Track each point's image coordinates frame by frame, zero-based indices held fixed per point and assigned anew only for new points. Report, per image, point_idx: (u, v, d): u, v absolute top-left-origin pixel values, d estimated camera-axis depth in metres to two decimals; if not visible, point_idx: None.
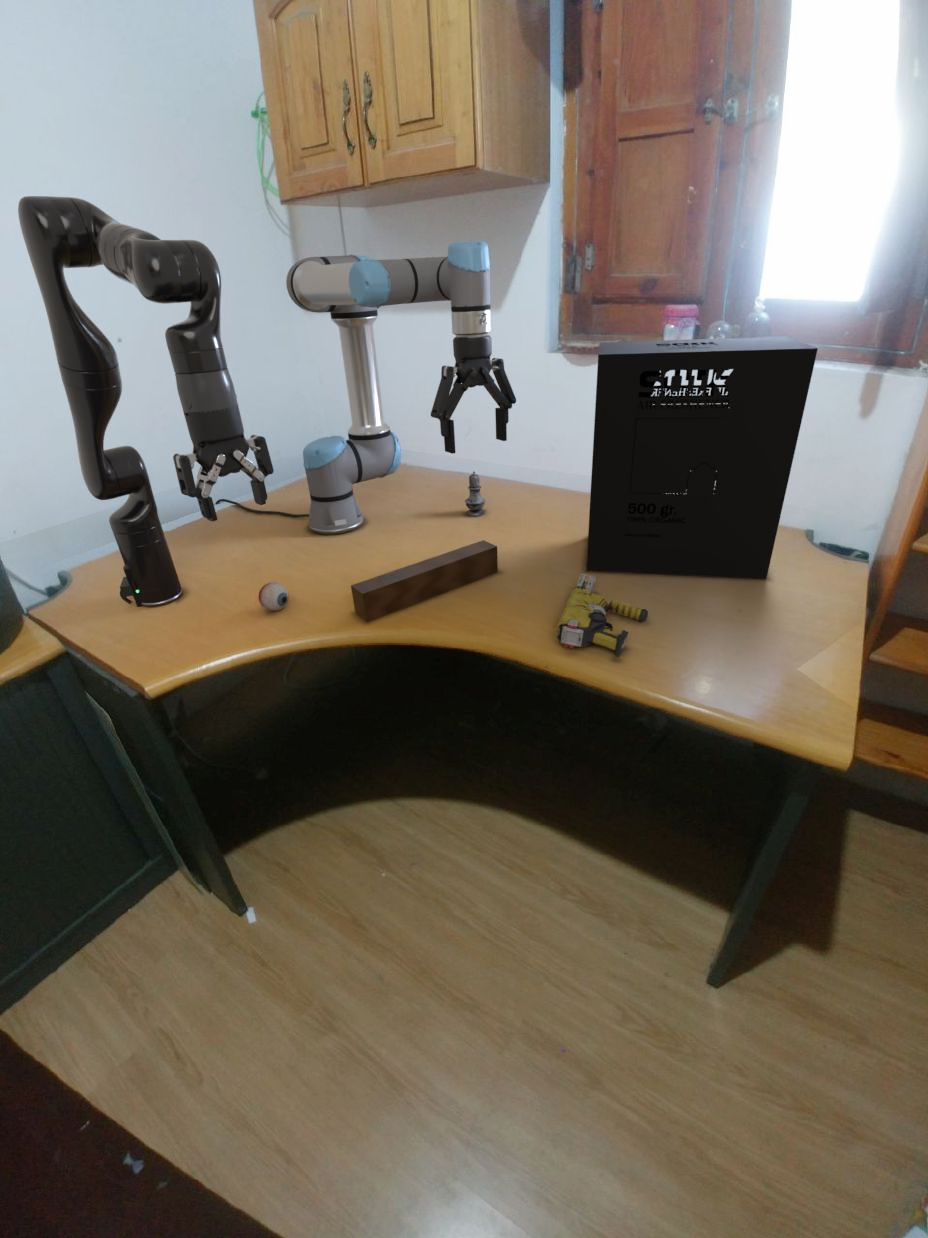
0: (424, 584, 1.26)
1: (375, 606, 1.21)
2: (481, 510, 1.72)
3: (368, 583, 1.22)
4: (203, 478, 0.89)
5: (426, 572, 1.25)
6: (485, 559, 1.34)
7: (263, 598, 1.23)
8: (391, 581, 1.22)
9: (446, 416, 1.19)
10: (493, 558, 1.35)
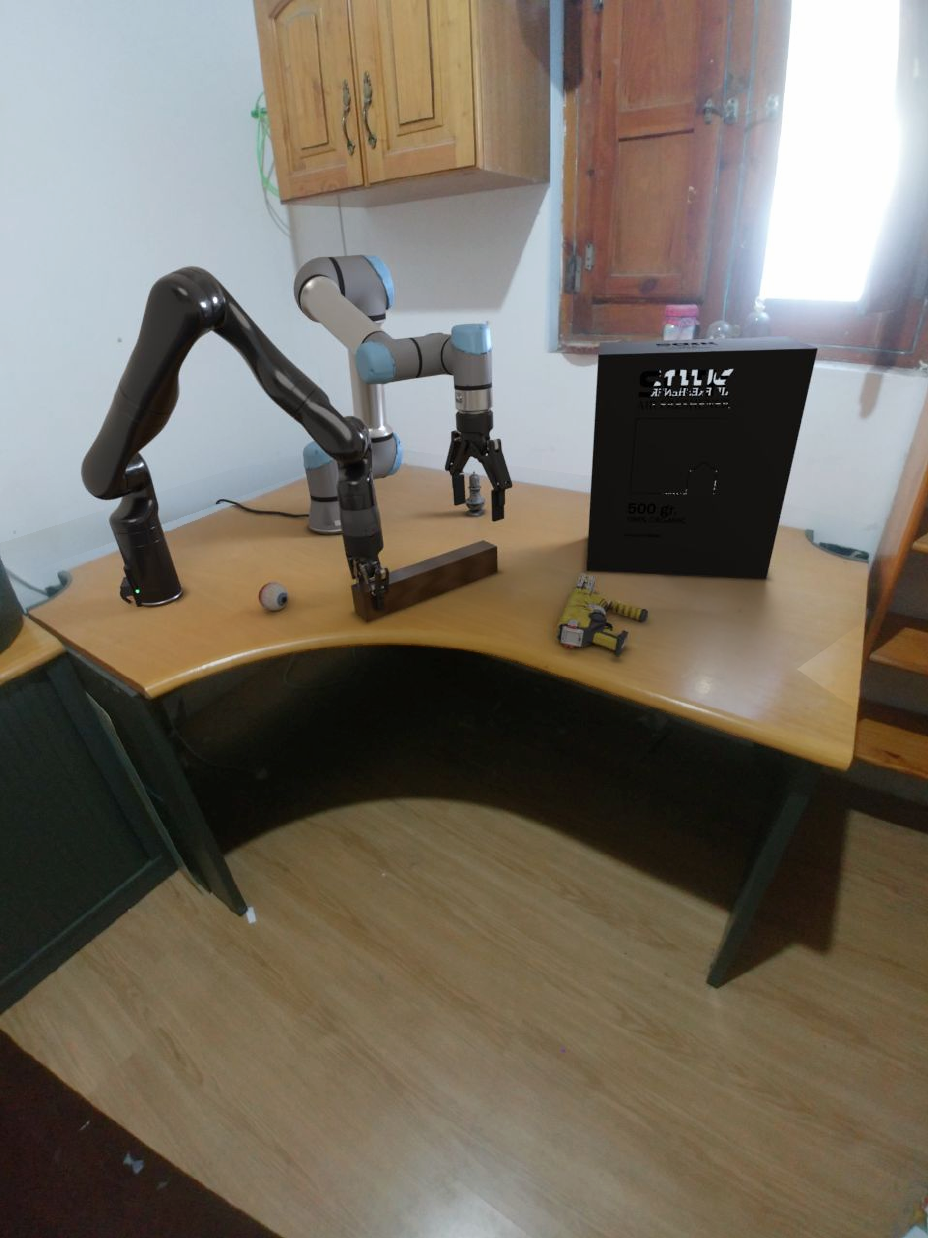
0: (424, 584, 1.26)
1: None
2: (481, 510, 1.72)
3: None
4: None
5: (426, 572, 1.25)
6: (485, 559, 1.34)
7: (263, 598, 1.23)
8: (391, 581, 1.22)
9: (450, 471, 1.32)
10: (493, 558, 1.35)
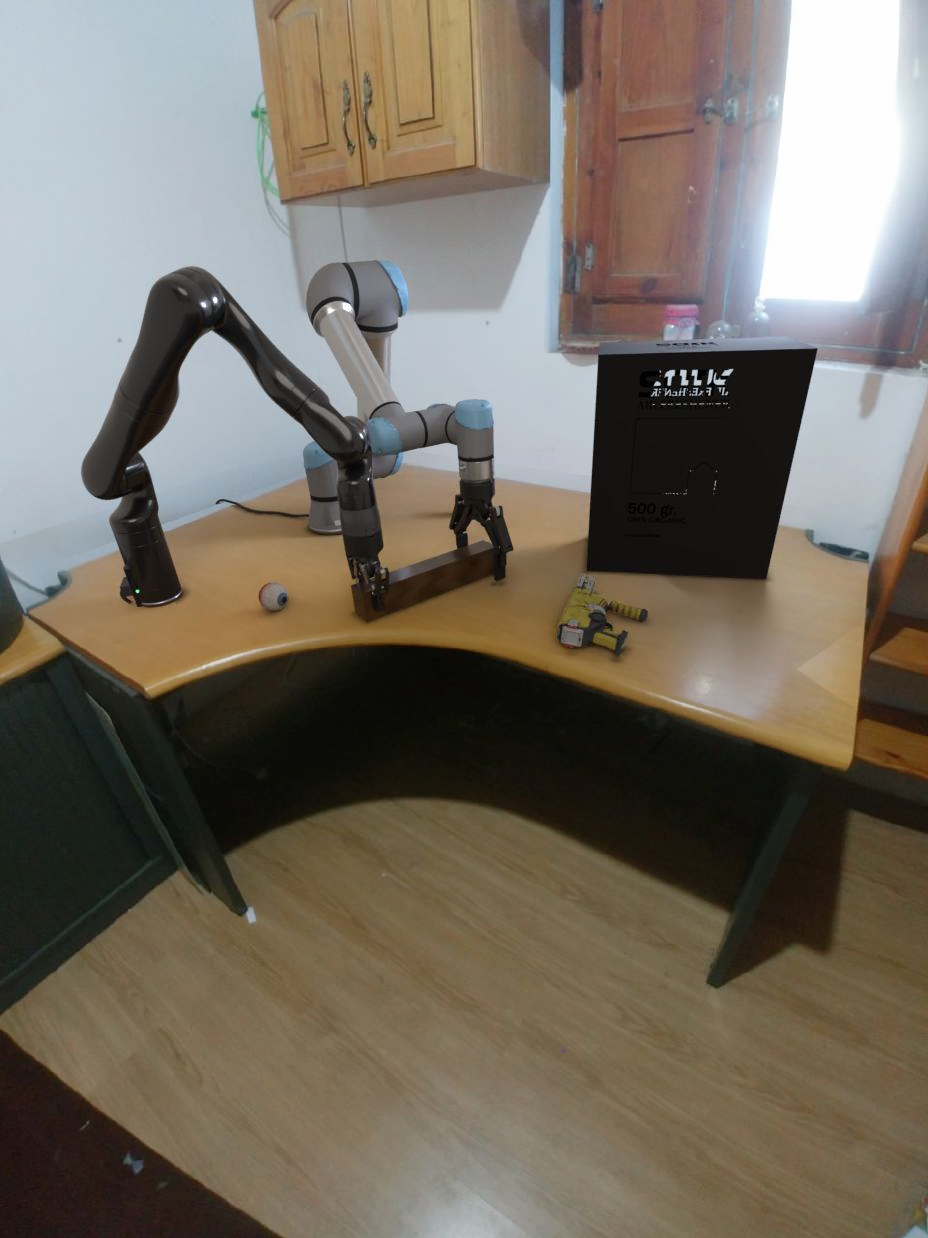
0: (424, 584, 1.26)
1: None
2: None
3: None
4: None
5: (426, 572, 1.25)
6: (485, 559, 1.34)
7: (263, 598, 1.23)
8: (391, 581, 1.22)
9: (454, 530, 1.39)
10: (492, 558, 1.35)
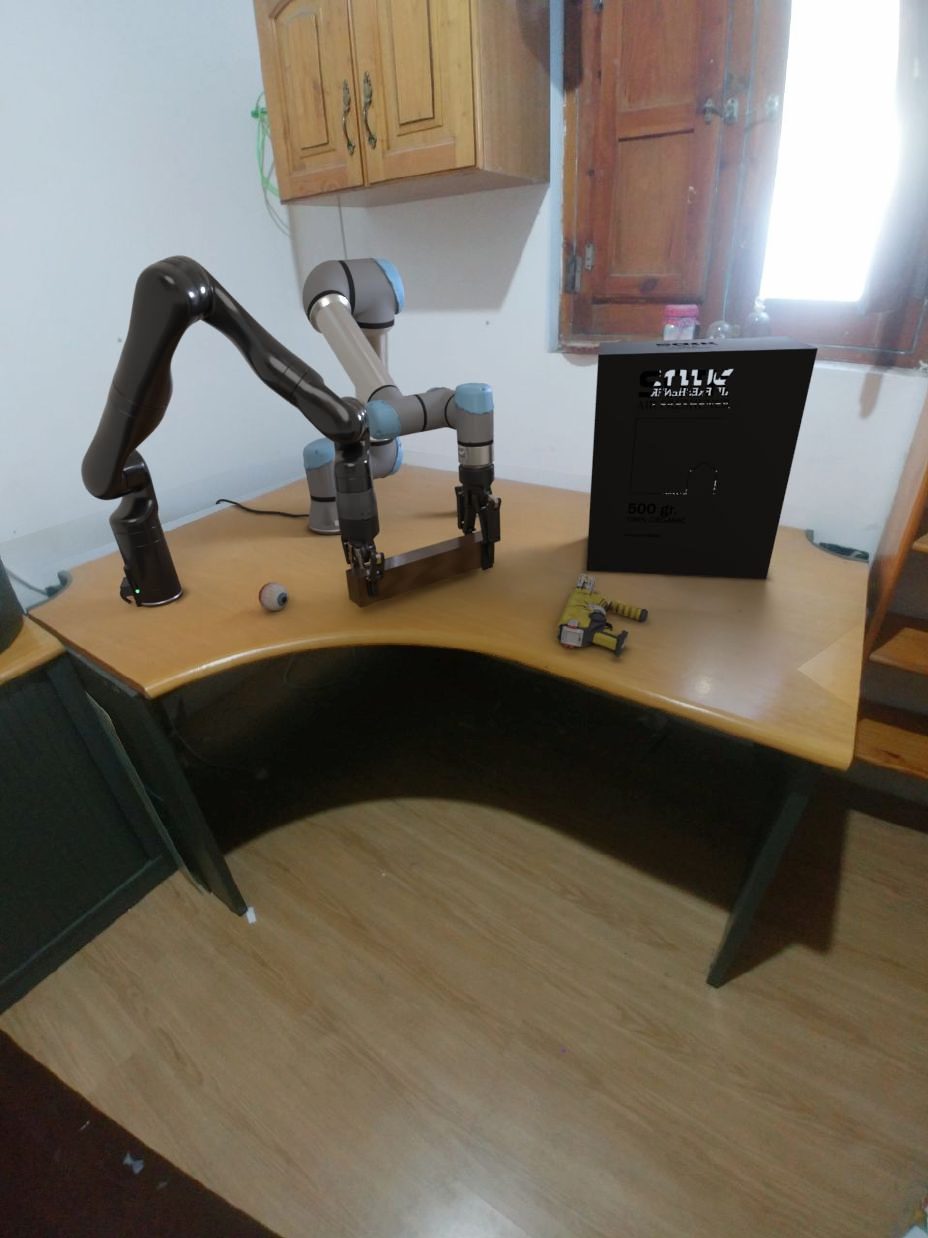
0: (420, 572, 1.25)
1: None
2: None
3: None
4: None
5: (422, 559, 1.24)
6: None
7: (263, 598, 1.23)
8: (386, 567, 1.20)
9: (463, 530, 1.36)
10: None
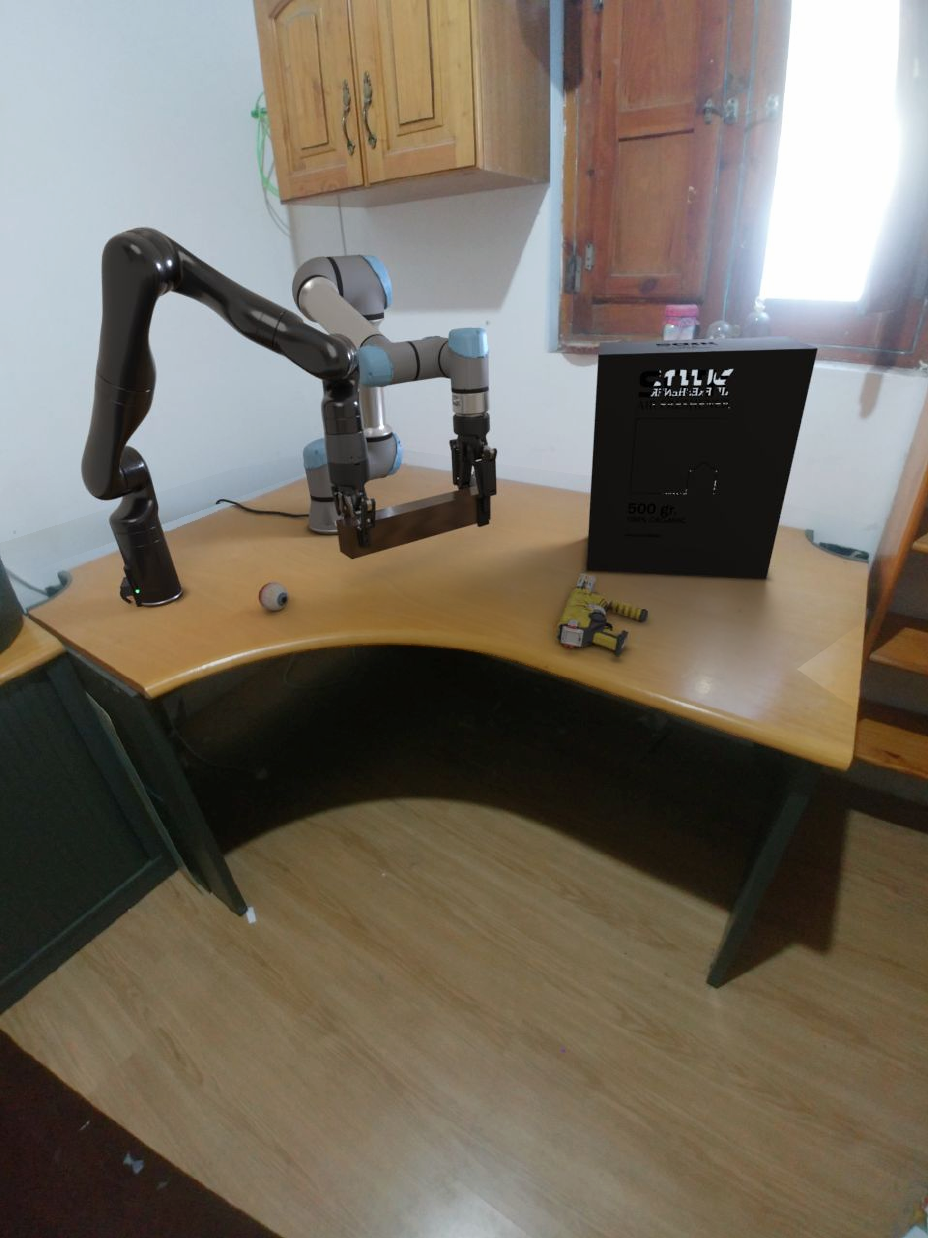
0: (413, 524, 1.21)
1: None
2: None
3: None
4: None
5: (415, 511, 1.20)
6: None
7: (263, 598, 1.23)
8: (378, 518, 1.16)
9: (458, 486, 1.32)
10: None
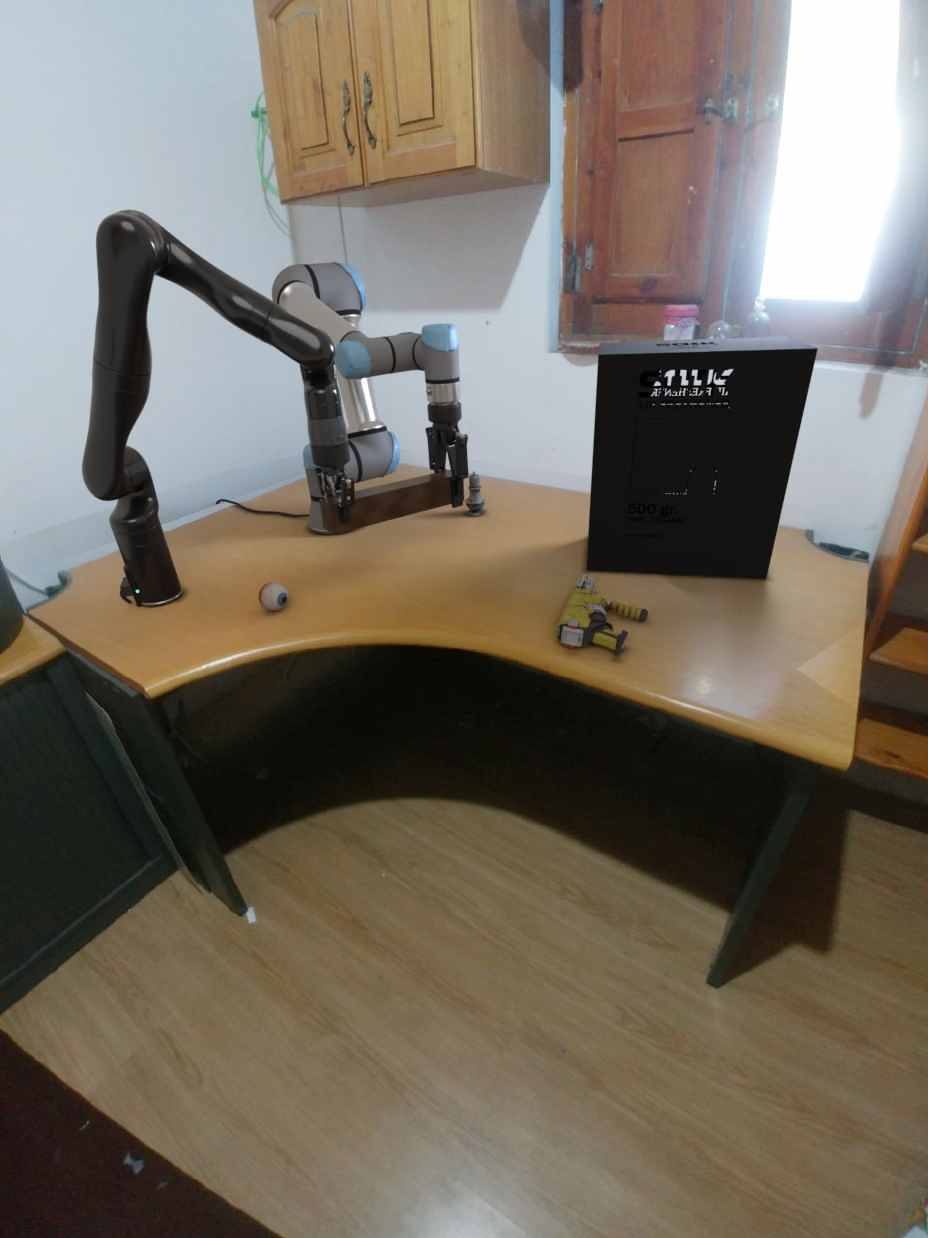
0: (391, 503, 1.32)
1: None
2: (481, 510, 1.72)
3: None
4: None
5: (393, 491, 1.31)
6: None
7: (263, 598, 1.23)
8: (358, 496, 1.27)
9: (434, 470, 1.43)
10: None
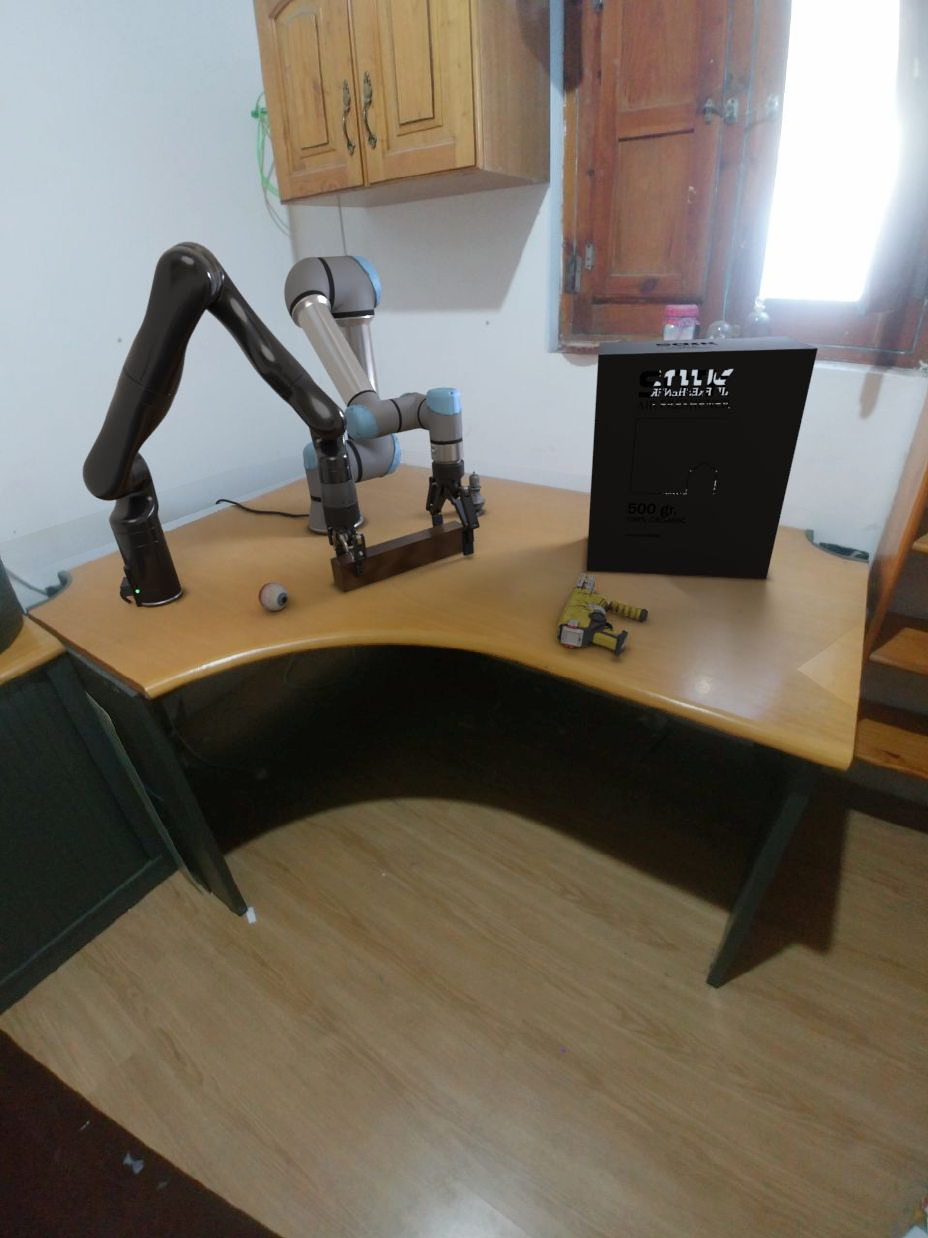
0: (398, 559, 1.38)
1: (352, 578, 1.33)
2: (481, 510, 1.72)
3: (346, 557, 1.34)
4: None
5: (399, 547, 1.37)
6: (455, 537, 1.46)
7: (263, 598, 1.23)
8: (367, 555, 1.34)
9: (430, 511, 1.51)
10: None
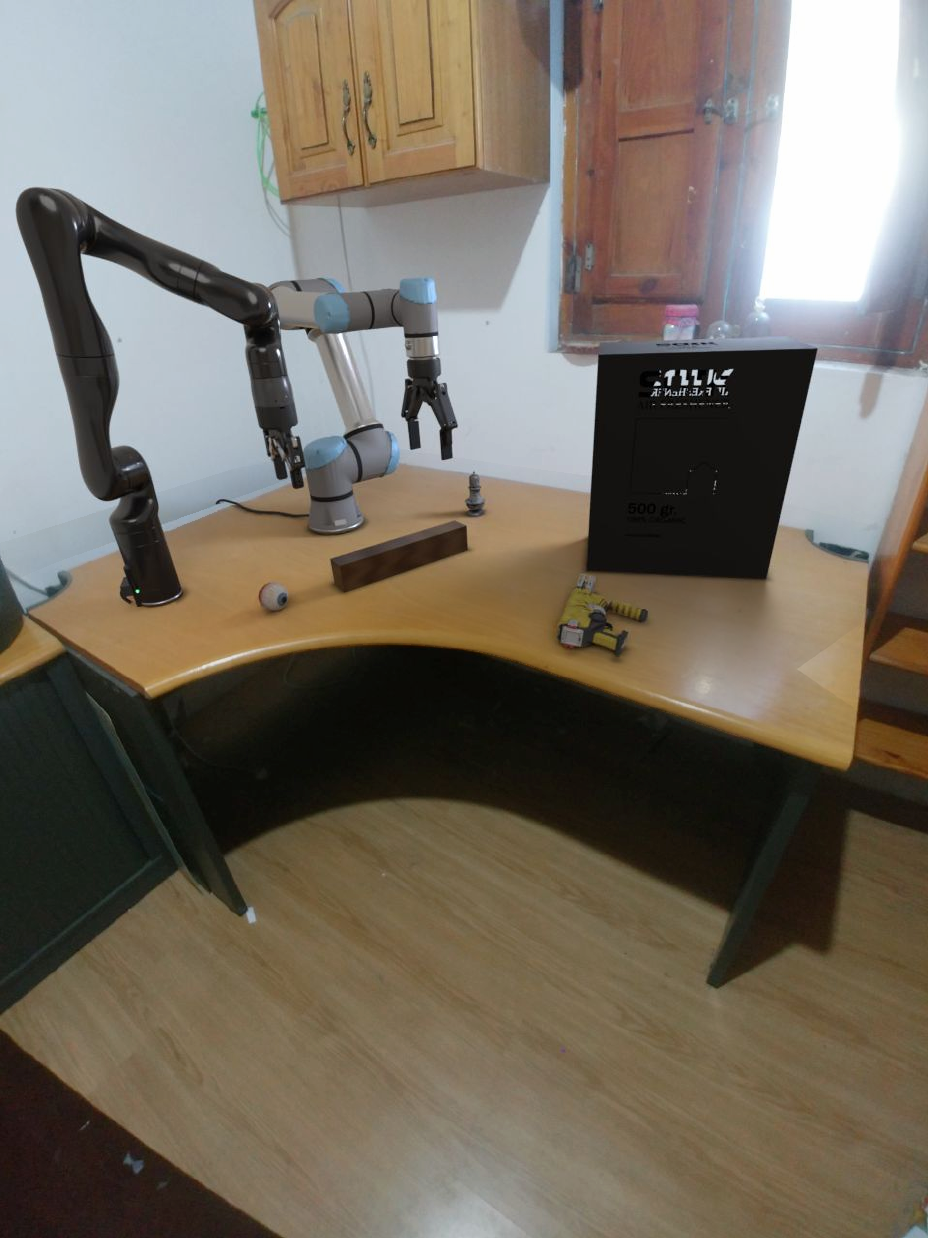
0: (398, 559, 1.38)
1: (352, 578, 1.33)
2: (481, 510, 1.72)
3: (346, 557, 1.34)
4: None
5: (399, 547, 1.37)
6: (455, 537, 1.46)
7: (263, 598, 1.23)
8: (367, 555, 1.34)
9: (406, 417, 1.45)
10: (462, 536, 1.47)
